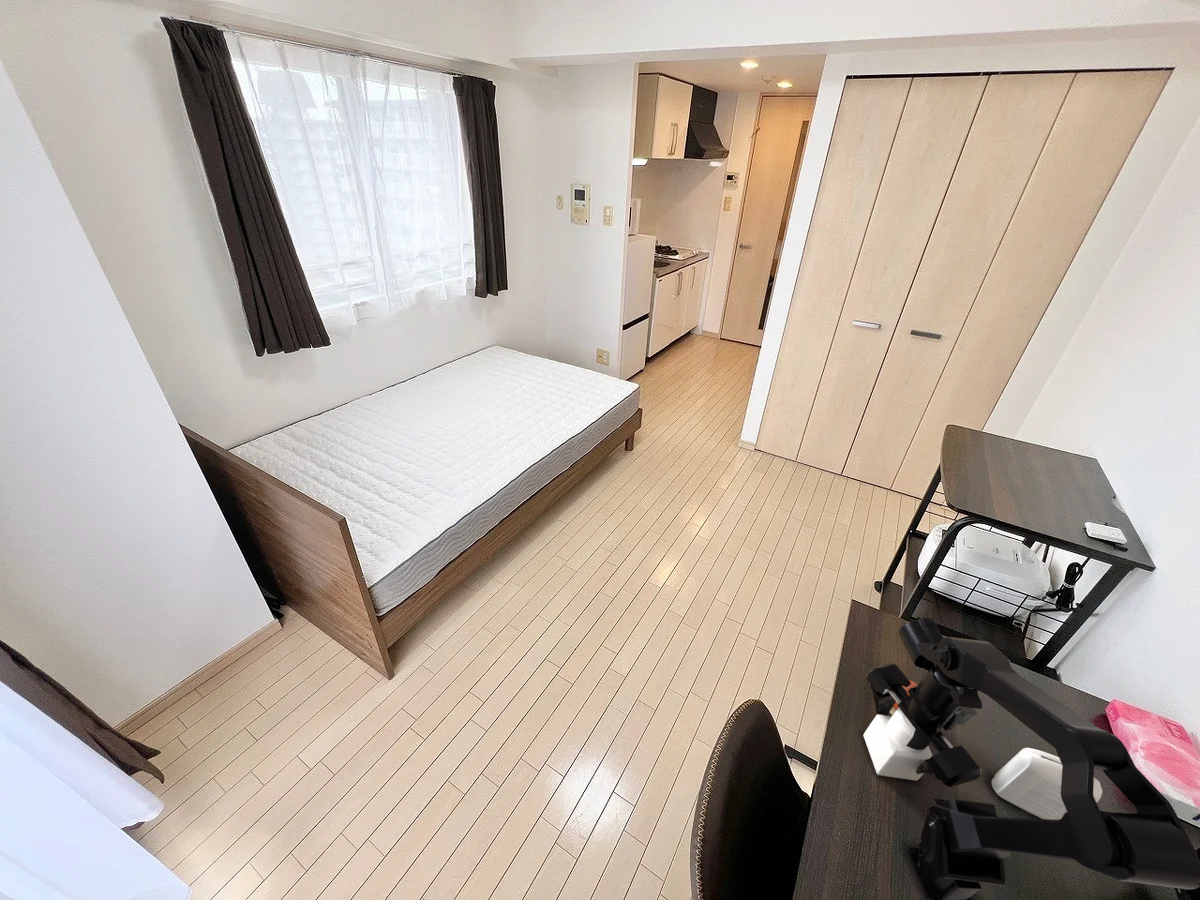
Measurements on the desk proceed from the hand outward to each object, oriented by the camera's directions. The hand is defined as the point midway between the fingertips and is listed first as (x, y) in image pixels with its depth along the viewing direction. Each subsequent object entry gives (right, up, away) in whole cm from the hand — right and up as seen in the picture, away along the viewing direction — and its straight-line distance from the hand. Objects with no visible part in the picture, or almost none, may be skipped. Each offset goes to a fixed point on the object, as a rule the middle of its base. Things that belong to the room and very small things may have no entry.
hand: (898, 744), depth 85 cm
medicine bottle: (0, -4, +2) cm, 5 cm away
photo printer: (+20, -9, -2) cm, 22 cm away
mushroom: (+7, +1, +10) cm, 12 cm away
